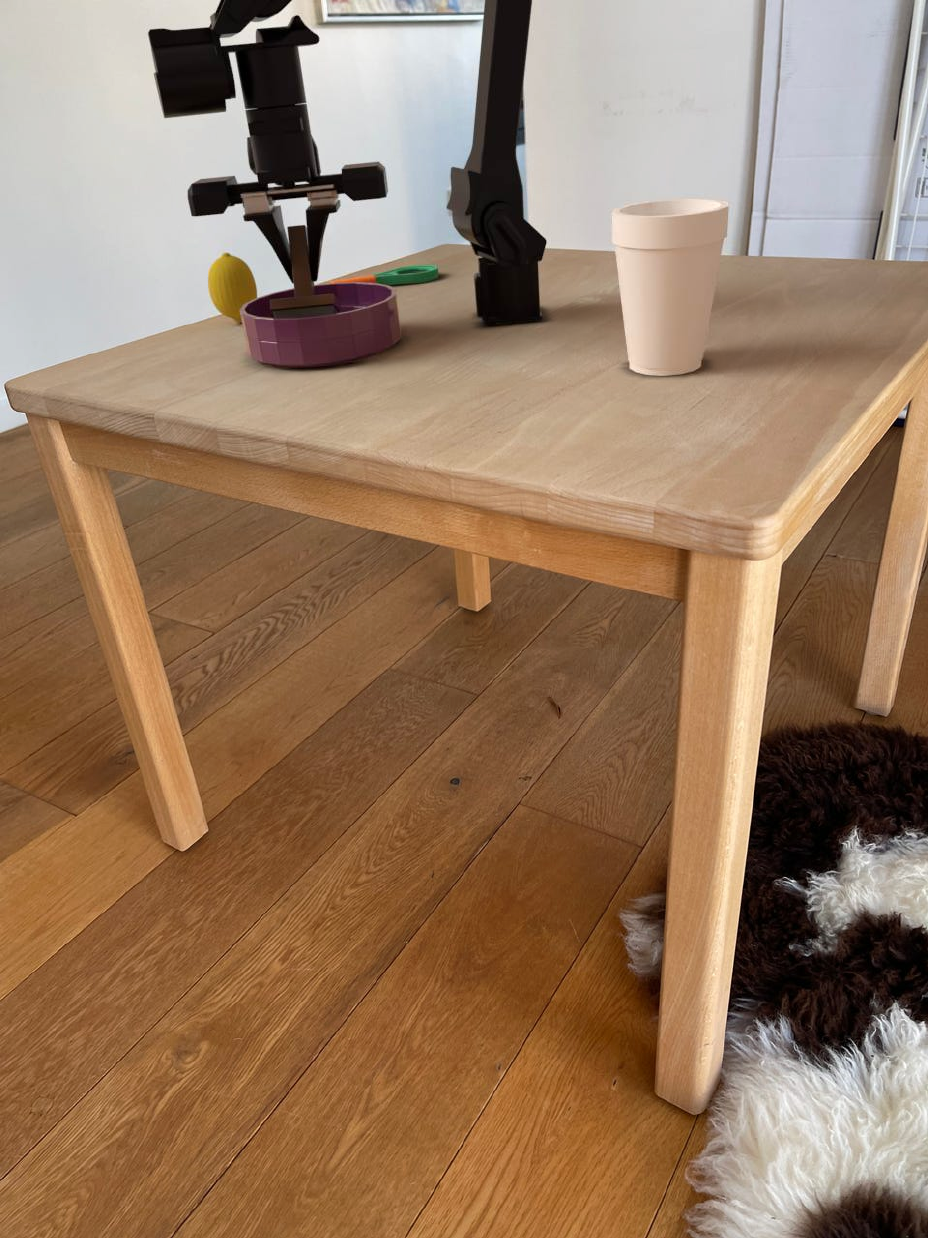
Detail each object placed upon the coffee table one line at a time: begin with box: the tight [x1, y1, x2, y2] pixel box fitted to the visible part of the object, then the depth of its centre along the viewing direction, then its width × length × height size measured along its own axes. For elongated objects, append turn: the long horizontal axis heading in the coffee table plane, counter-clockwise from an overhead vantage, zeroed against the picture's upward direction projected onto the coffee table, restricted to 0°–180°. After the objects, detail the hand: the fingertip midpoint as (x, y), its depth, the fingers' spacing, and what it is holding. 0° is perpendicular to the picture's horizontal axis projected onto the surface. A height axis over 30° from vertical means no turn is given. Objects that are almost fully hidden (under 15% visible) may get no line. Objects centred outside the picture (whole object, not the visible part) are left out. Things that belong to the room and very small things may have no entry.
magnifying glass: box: [329, 264, 439, 286], centre depth 123 cm, size 15×6×2 cm, turn 118°
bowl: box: [240, 282, 402, 369], centre depth 96 cm, size 16×16×5 cm
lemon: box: [207, 252, 258, 324], centre depth 109 cm, size 6×6×8 cm
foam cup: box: [611, 198, 730, 377], centre depth 79 cm, size 10×9×13 cm
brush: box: [270, 224, 341, 318], centre depth 93 cm, size 6×4×9 cm
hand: (305, 281), depth 94 cm, fingers closed on brush, 2 cm apart
